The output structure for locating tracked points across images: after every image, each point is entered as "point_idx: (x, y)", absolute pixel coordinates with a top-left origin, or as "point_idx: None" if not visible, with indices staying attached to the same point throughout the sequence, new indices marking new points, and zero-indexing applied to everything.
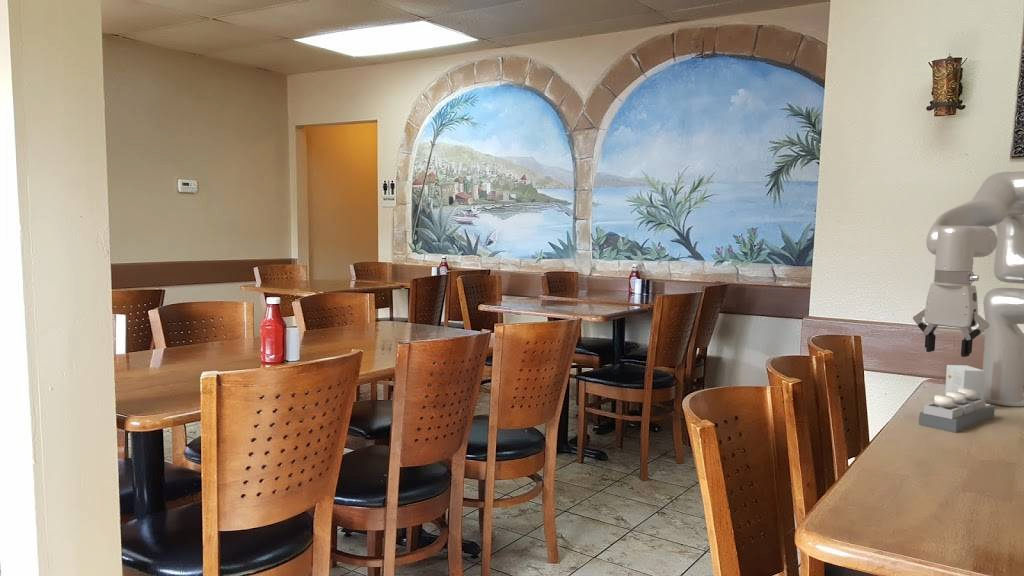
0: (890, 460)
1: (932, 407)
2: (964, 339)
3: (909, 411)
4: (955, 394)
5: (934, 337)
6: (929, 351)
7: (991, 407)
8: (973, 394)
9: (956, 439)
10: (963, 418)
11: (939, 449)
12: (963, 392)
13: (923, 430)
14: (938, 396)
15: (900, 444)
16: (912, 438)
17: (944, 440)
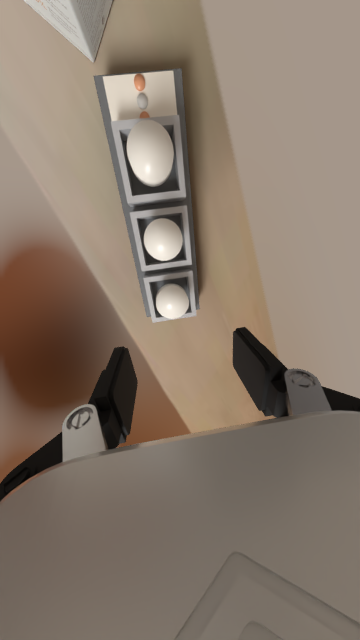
0: (208, 429)
1: (165, 319)
2: (268, 404)
3: (76, 235)
4: (169, 255)
5: (119, 397)
6: (136, 380)
7: (183, 104)
8: (171, 167)
9: (210, 330)
10: (197, 281)
11: (217, 377)
12: (153, 182)
13: (168, 329)
14: (165, 309)
15: (188, 394)
16: (182, 369)
17: (205, 346)
